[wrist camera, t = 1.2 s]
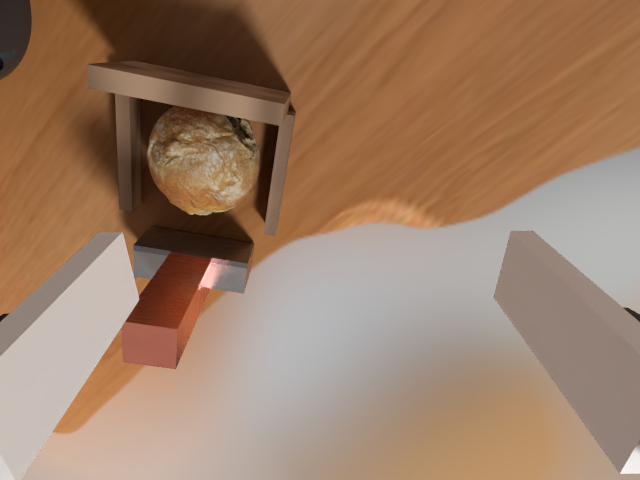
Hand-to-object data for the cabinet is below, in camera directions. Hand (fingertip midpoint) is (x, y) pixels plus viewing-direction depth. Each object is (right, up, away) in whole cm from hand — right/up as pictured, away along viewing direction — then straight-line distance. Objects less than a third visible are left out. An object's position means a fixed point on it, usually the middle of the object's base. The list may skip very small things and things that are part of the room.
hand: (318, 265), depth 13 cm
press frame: (-11, +9, +25) cm, 28 cm away
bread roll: (-11, +9, +25) cm, 29 cm away
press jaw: (-13, 0, +29) cm, 32 cm away
